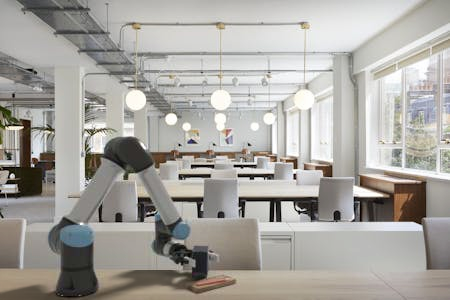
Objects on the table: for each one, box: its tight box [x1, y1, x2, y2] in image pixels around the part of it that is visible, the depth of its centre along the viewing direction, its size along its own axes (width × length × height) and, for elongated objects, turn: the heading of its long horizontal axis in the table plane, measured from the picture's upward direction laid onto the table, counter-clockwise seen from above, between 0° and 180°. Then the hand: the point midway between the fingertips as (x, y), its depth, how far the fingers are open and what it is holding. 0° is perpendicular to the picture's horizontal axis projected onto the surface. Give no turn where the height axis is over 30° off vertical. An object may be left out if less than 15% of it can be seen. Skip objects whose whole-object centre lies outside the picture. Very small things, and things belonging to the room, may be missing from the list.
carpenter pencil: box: [197, 278, 230, 286], centre depth 166 cm, size 14×1×1 cm, turn 120°
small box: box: [191, 245, 210, 278], centre depth 178 cm, size 11×6×10 cm, turn 179°
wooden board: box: [185, 274, 237, 294], centre depth 168 cm, size 8×18×2 cm, turn 130°
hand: (206, 261), depth 175 cm, fingers closed on small box, 11 cm apart
